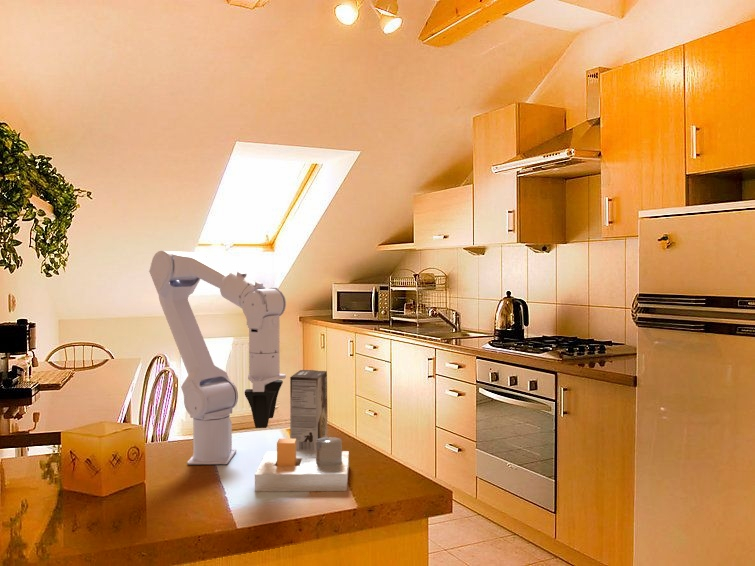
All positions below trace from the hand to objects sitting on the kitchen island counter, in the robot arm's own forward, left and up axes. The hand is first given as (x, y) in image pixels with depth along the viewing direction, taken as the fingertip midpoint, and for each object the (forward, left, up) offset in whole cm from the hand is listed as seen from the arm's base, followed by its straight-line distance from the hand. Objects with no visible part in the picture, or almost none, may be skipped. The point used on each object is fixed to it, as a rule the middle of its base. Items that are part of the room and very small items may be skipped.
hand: (264, 422), depth 123 cm
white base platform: (+4, +8, -9) cm, 13 cm away
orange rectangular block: (+4, +5, -9) cm, 11 cm away
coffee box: (-17, +7, -10) cm, 21 cm away
